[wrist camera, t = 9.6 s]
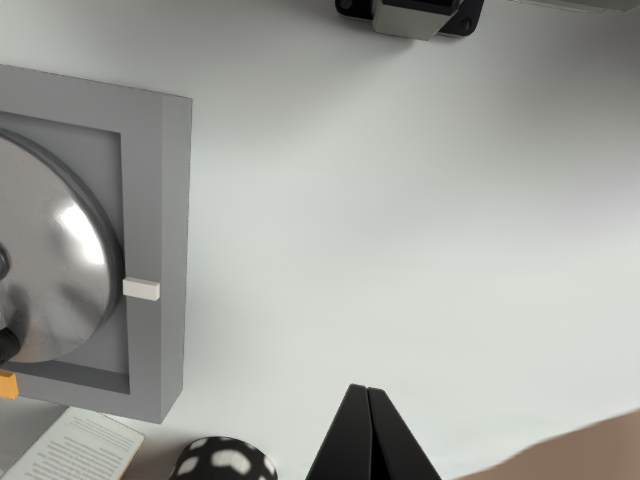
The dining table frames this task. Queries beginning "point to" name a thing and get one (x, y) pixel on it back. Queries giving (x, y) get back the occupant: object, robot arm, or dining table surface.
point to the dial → (51, 255)
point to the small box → (78, 449)
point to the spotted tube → (222, 461)
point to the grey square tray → (130, 228)
